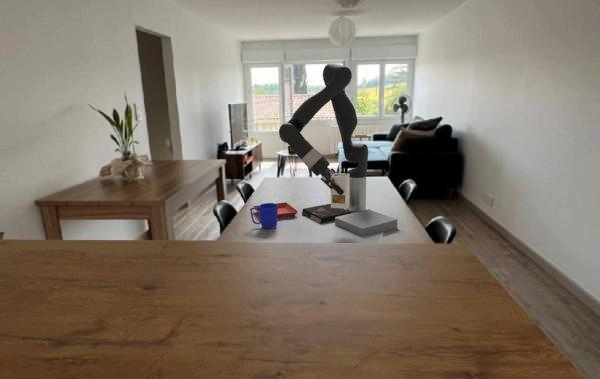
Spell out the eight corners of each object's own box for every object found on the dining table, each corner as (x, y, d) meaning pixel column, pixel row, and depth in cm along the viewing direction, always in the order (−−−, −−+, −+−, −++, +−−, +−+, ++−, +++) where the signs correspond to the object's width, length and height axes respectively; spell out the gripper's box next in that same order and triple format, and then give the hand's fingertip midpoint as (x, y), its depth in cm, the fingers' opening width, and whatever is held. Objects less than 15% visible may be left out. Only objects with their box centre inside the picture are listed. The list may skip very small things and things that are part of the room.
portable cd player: (301, 216, 181) (301, 208, 180) (331, 211, 189) (331, 203, 188) (320, 226, 167) (319, 218, 166) (350, 219, 175) (350, 211, 174)
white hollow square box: (330, 207, 152) (330, 176, 148) (334, 203, 158) (334, 173, 154) (346, 208, 150) (346, 177, 146) (349, 204, 156) (349, 173, 152)
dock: (334, 225, 166) (334, 217, 165) (368, 217, 176) (368, 209, 175) (362, 238, 151) (362, 228, 150) (397, 228, 162) (397, 219, 161)
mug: (251, 224, 170) (250, 203, 167) (278, 223, 171) (277, 202, 168) (250, 231, 162) (249, 209, 159) (278, 229, 163) (277, 207, 160)
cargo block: (334, 204, 152) (334, 195, 151) (336, 201, 156) (336, 192, 155) (343, 205, 151) (344, 195, 150) (345, 202, 155) (345, 193, 154)
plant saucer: (286, 207, 196) (286, 201, 195) (298, 217, 179) (298, 211, 179) (252, 212, 190) (252, 205, 189) (262, 222, 173) (262, 216, 172)
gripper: (317, 158, 144) (347, 190, 144) (326, 152, 157) (353, 181, 157) (304, 171, 147) (334, 202, 146) (314, 164, 160) (341, 192, 160)
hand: (344, 191), depth 152 cm, fingers closed on white hollow square box, 6 cm apart
